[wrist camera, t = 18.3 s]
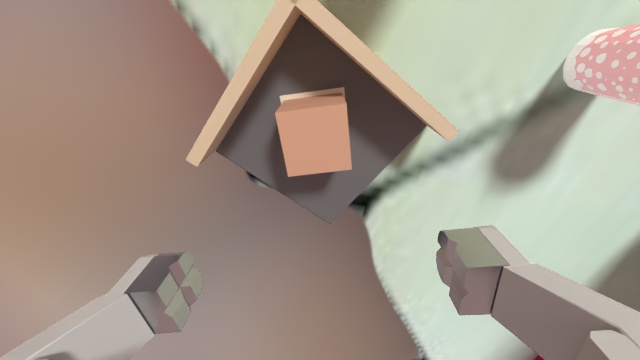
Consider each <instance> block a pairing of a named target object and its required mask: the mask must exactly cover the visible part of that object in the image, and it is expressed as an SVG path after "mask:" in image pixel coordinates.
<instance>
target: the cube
mask: <svg viewBox="0 0 640 360" xmlns="http://www.w3.org/2000/svg"><path fill="white" fill-rule="evenodd" d="M275 116H276V121H277V126H278V130H279V135H280V140H281V145H282V150H283V154H284V159H285V164H286V169H287V174H288V177H291V176H300V175H308V174H317V173H326V172H335V171H343V170H352V164H351V151H350V139H349V127H348V115H347V103H346V101H345V99H344V96H343V94H342V92H340V93H333V94H326V95H318V96H311V97H303V98H296V99H289V100H284V101H283V103H282V104H281V105H280V107H279V108H278V109H277V111H276V112H275Z"/></svg>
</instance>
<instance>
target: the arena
mask: <svg viewBox="0 0 640 360" xmlns="http://www.w3.org/2000/svg"><path fill="white" fill-rule="evenodd" d="M340 92H342V94H343V96H344V99H345V101H346V103H347V115H348V127H349V139H350V151H351V164H352V170H343V171H335V172H326V173H317V174H308V175H300V176H291V177H288V174H287V169H286V164H285V159H284V154H283V150H282V145H281V140H280V135H279V130H278V126H277V121H276V116H275V112H276V111H277V109H278V108H279V107H280V105H281V104H282V103H283V101H284V100H289V99H296V98H303V97H311V96H318V95H326V94H333V93H340ZM426 125H427V126H428V127H430V128H431V129H433V130H434V131H435V132H437V133H438V134H439V135H441V136H442V137H443V138H445V139H446V140H447V141H449V140H450V139H451V138H452V137H453V136H454V135H455V134H457V133H458V132H459V130H458V129H456V128H455V127H454V126H453V125H452V124H451V123H450V122H449V121H448V120H447V119H446V118H445V117H443V116H442V115H441V114H440V113H439V112H438V111H437V110H436V109H435V108H434V107H433V106H431V105H430V104H429V103H428V102H427V101H426V100H425V99H424V98H423V97H422V96H421V95H420V94H418V93H417V92H416V91H415V90H414V89H413V88H412V87H411V86H410V85H409V84H408V83H407V82H405V81H404V80H403V79H402V78H401V77H400V76H399V75H398V74H397V73H396V72H395V71H393V70H392V69H391V68H390V67H389V66H388V65H387V64H386V63H385V62H384V61H383V60H382V59H380V58H379V57H378V56H377V55H376V54H375V53H374V52H373V51H372V50H371V49H370V48H369V47H367V46H366V45H365V44H364V43H363V42H362V41H361V40H360V39H359V38H358V37H357V36H355V35H354V34H353V33H352V32H351V31H350V30H349V29H348V28H347V27H346V26H345V25H344V24H342V23H341V22H340V21H339V20H338V19H337V18H336V17H335V16H334V15H333V14H332V13H331V12H329V11H328V10H327V9H326V8H325V7H324V6H323V5H322V4H321V3H320V2H319V1H317V0H277V1H276V3H275V4H274V6H273V8H272V10H271V11H270V13H269V15H268V17H267V18H266V20H265V22H264V24H263V25H262V27H261V29H260V31H259V32H258V34H257V36H256V38H255V39H254V41H253V43H252V45H251V46H250V48H249V50H248V52H247V53H246V55H245V57H244V59H243V60H242V62H241V64H240V66H239V67H238V69H237V71H236V73H235V74H234V76H233V78H232V80H231V81H230V83H229V85H228V87H227V88H226V90H225V92H224V94H223V95H222V97H221V99H220V101H219V102H218V104H217V106H216V108H215V109H214V111H213V113H212V115H211V116H210V118H209V120H208V121H207V123H206V125H205V127H204V128H203V131H202V132H201V134H200V136H199V137H198V139H197V141H196V142H195V144H194V146H193V148H192V150H191V151H190V153H189V155H188V156H187V158H186V160H187V161H188V162H190V163H192V164H193V165H195V166H199V165H200V164H201V163H202V162H203V161H204V160H205V159H206V158H207V157H208V156H209V155H210V154H211V153H212V152H214V151H215V150H216V149H217V150H216V152H218V153H219V154H221V155H223V156H224V157H226V158H227V159H229V160H230V161H232V162H234V163H235V164H237V165H238V166H240V167H241V168H243V169H245V170H246V171H248V172H249V173H251V174H252V175H254V176H255V177H257V178H259V179H260V180H262V181H263V182H265V183H266V184H268V185H270V186H271V187H273V188H274V189H276V190H278V191H279V192H281V193H282V194H284V195H285V196H287V197H288V198H290V199H292V200H293V201H295V202H296V203H298V204H299V205H301V206H302V207H304V208H306V209H307V210H309V211H310V212H312V213H313V214H315V215H317V216H318V217H320V218H321V219H323V220H325V221H326V222H328V223H329V224H331V223H332V221H334V220H335V219H336V218H337V217H338V216H339V214H340V213H341V212H342V211H343V210H344V209H345V208H346V207H347V206H348V205H349V204H350V203H351V202H352V201H353V200H354V199H355V198H356V197H357V196H358V195H359V194H360V193H361V192H362V191H363V190H364V189H365V188H366V187H367V186H368V185H369V184H370V183H371V182H372V181H373V180H374V178H375V177H376V176H377V175H378V174H379V173H380V172H381V171H382V170H383V169H384V168H385V167H386V166H387V165H388V164H389V163H390V162H391V161H392V160H393V159H394V158H395V157H396V156H397V155H398V154H399V153H400V152H401V151H402V150H403V149H404V148H405V147H406V146H407V145H408V143H409V142H410V141H411V140H412V139H413V138H414V137H415V136H416V135H417V134H418V133H419V132H420V131H421V130H422V129H423V128H424V127H425V126H426Z"/></svg>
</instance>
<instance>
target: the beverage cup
mask: <svg viewBox="0 0 640 360" xmlns="http://www.w3.org/2000/svg"><path fill="white" fill-rule="evenodd" d="M563 79H564V81H565V82H566V84H567V85H568V87H571V88H573V89H575V90H578V91H582V92H586V93H590V94H594V95H598V96H602V97H606V98H610V99H615V100H619V101H623V102H627V103H631V104H635V105H639V106H640V25H633V26H625V27H618V28H610V29H603V30H598V31H596V32H594V33H591V34H589V35H587V36H585V37H584V38H583V39H582V40H581V41H579V42H578V43H577V44H576V45H575V46H574V47H573V49H572V50H571V52H570V53H569V54H568V56H567V58H566V61H565V64H564V67H563Z"/></svg>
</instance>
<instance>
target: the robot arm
mask: <svg viewBox="0 0 640 360" xmlns="http://www.w3.org/2000/svg"><path fill="white" fill-rule="evenodd" d="M438 243H439V244H440V246H441V248H440V249H439V250H438V251H437V255H436V262H437V269H438V272H439V275H440V277H441V279H442V282H443V283H444V284H446V285H447V286H449V287H450V292H449V296H450V298H451V300H452V302H453V304H454V306H455V308H456V310H457V312H458V314H459V315H483V314H491V316H492V317H493V318H494V319H495V320H497V321H498V322H499V323H500V324H502V325H503V326H504V327H505V328H506V329H508V330H509V331H510V332H511V333H513V334H514V335H515V336H516V337H518V338H519V339H520V340H521V341H522V342H524V343H525V344H526V345H527V346H529V347H530V348H531V349H532V350H533V351H535V352H536V353H537V354H538V355H540V356H541V357H542V358H543V359H544V360H640V312H638V311H636V310H634V309H632V308H630V307H628V306H626V305H623V304H621V303H619V302H617V301H615V300H613V299H611V298H609V297H606V296H604V295H602V294H600V293H598V292H596V291H594V290H591V289H589V288H587V287H585V286H583V285H581V284H579V283H577V282H574V281H572V280H570V279H568V278H566V277H564V276H562V275H559V274H557V273H555V272H553V271H551V270H549V269H547V268H544V267H542V266H540V265H538V264H530V263H529V262H528V261H527V260H526V259H525V258H524V257H523V256H522V254H521V253H520V252H519V251H518V250H517V249H516V248H515V247H514V246H513V245H512V244H511V243H510V242H509V241H508V240H507V239H506V238H505V237H504V236H503V234H502V233H501V232H500V231H499V230H498V229H497V228H496V227H494V226H492V225H491V226H481V227H474V228H465V229H454V230H443V231H440V232H439V234H438ZM194 262H195V260H194V258H193V256H192V255H191V253H187V252H183V253H168V254H155V255H145V256H142V257H140V258H139V259H138V260H137V261H136V262H135V264H134V265H133V266H132V267H131V268H130V269H129V270H128V271H127V273H126V274H125V275H124V276H123V277H122V278H121V279H120V280H119V281H118V282H117V283H116V285H115V286H114V287H113V288H112V289H111V290H110V291H109V292H108V294H106V295H104V296H100V297H98V298H97V299H95V300H93V301H92V302H90V303H88V304H87V305H85V306H83V307H82V308H80V309H78V310H77V311H75V312H74V313H72V314H70V315H69V316H67V317H65V318H64V319H62V320H61V321H59V322H57V323H56V324H54V325H52V326H51V327H49V328H47V329H46V330H44V331H43V332H41V333H39V334H38V335H36V336H34V337H33V338H31V339H30V340H28V341H26V342H25V343H23V344H21V345H20V346H18V347H16V348H15V349H13V350H12V351H10V352H8V353H7V354H5V355H3V356H2V357H0V360H130V359H131V358H132V357H133V356H134V355H135V354H136V353H137V352H138V351H139V350H140V349H141V348H142V347H143V346H144V345H145V344H146V343H147V342H149V340H151V339H152V337H154V334H160V333H170V332H181V330H182V328H183V326H184V324H185V322H186V321H187V319H188V317H189V315H190V313H191V309H190V305H192V304H193V303H194V302H195V301H196V300H197V299H198V297H199V295H200V293H201V290H202V284H203V282H202V275H201V273H200V271H199V270H198V269H196V268H195V267H193V264H194Z"/></svg>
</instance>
